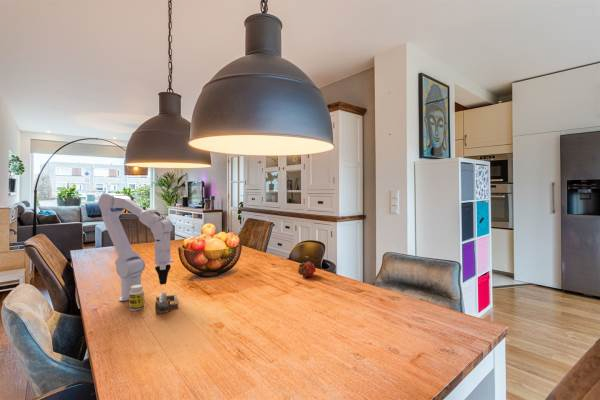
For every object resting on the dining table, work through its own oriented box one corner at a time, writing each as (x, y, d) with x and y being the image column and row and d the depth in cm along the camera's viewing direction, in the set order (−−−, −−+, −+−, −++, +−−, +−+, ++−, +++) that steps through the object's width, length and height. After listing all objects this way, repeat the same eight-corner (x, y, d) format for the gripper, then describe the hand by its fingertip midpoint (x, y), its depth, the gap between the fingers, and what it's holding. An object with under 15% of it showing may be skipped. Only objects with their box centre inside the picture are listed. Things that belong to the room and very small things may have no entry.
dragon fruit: (300, 282, 151) (309, 280, 162) (314, 274, 149) (322, 271, 160) (292, 267, 154) (301, 266, 165) (305, 259, 152) (313, 258, 163)
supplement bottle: (127, 311, 110) (127, 288, 110) (131, 307, 115) (130, 284, 115) (142, 310, 111) (142, 287, 111) (145, 305, 116) (144, 283, 116)
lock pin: (158, 299, 118) (158, 291, 118) (167, 298, 120) (167, 290, 120) (157, 311, 106) (157, 302, 106) (167, 310, 108) (167, 301, 108)
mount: (156, 300, 121) (156, 290, 121) (176, 298, 124) (176, 288, 124) (155, 313, 108) (155, 302, 108) (177, 310, 111) (177, 299, 111)
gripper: (173, 252, 117) (174, 287, 117) (173, 246, 130) (173, 278, 130) (153, 253, 114) (154, 289, 114) (154, 247, 127) (155, 280, 128)
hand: (163, 283), depth 122 cm, fingers closed
